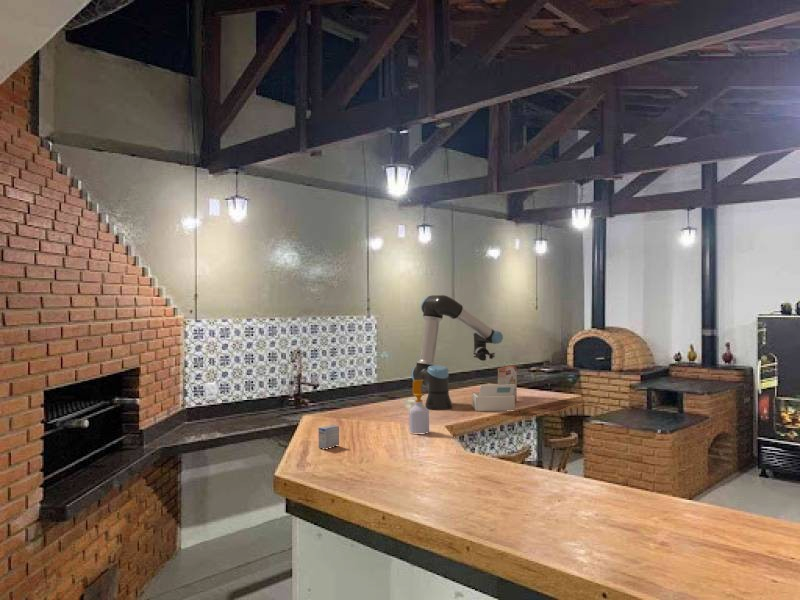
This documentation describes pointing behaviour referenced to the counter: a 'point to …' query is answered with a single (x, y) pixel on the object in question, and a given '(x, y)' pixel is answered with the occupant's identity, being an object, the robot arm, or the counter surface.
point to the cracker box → (508, 377)
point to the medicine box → (328, 436)
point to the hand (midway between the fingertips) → (488, 357)
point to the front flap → (497, 390)
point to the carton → (492, 402)
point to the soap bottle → (418, 412)
